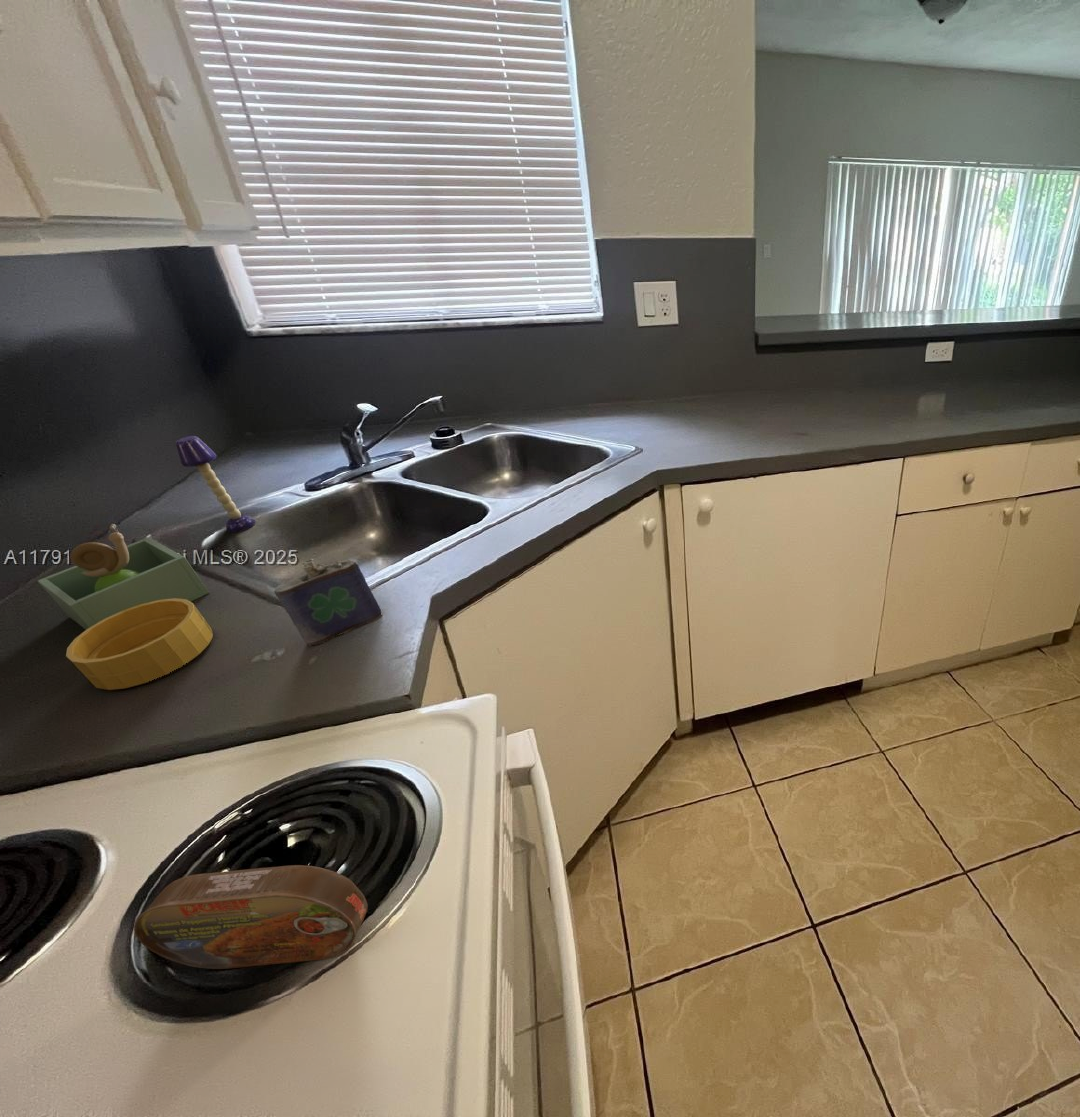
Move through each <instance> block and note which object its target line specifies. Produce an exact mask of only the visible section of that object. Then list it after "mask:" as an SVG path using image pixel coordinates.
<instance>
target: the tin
mask: <svg viewBox="0 0 1080 1117" xmlns="http://www.w3.org/2000/svg"><path fill="white" fill-rule="evenodd" d="M368 908H369V906H368V902H367V898H366V897H365V895H364V894H363V892H362V891H361V890H360V888H359V887H357V886H356V884H355V883H354V882H353V881H352V880H351V879H350V878H349V877H347V876H345V875H342V874H341V873H339V872H336V871H333V870H331V869H327V868H323V867H319V866H313V865H301V864H294V865H293V864H292V865H281V866H280V865H279V866H270V867H259V868H258V867H257V868H247V869H237V870H229V871H228V870H227V871H218V872H216V871H215V872H208V873H197V874H191V875H186V876H182V877H179V878H178V879H176V880H173V881H172V882H171V883H169V884H168V885H167V886H165V887H164V888H163V889H162V890H161V892H160V893H159V894H158V895H157V896H156V897H155V899H153V901H152V902H151V904H150V905H149V906H148V907H147V908H146V910H144V911H143V912H142V913H141V914H139V915H138V916H137V918H136V919H135V921H134V924H133V931H134V934H135V937H136V938H137V939H138V940H139V941H140V943H141V944H142V946H144V947H146V948H147V949H148V950H149V951H151V952H153V953H154V954H156V955H158V956H160V957H162V958H164V959H167V960H169V961H172V962H175V963H178V964H181V965H185V966H189V967H193V968H199V969H207V970H208V969H209V970H226V969H229V970H230V969H238V968H239V969H240V968H249V967H257V966H259V967H260V966H270V965H277V964H279V965H280V964H290V963H291V964H292V963H301V962H311V961H320V960H321V961H322V960H327V959H332V958H334V957H337V956H340V955H341V954H343V953H345V952H346V951H348V950H349V949H350V948H351V947H352V946H353V944H354V943H355V941H356V937H357V934H358V932H359V929H360V927H361V925H362V924H363V921H364V919H365V917H366V914H367V912H368Z"/></svg>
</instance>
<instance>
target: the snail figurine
mask: <svg viewBox="0 0 1080 1117" xmlns="http://www.w3.org/2000/svg"><path fill="white" fill-rule="evenodd" d="M109 529H110V530H112V531H114V532H111V533H110V534H109V535H108V540H109V541H110V542H111V543H113V545H114V546H113V547H112V546H111V545H108V544H105V543H102V542H94V541H92V542H84V543H81V544H79V545H77V546H75V547H74V548H72V550H71V551H70V555H69V556H70V560H71V562H72V564H74V566H78V567H79V568H82V569H86V570H90V571H85V572H83V573H82V574H83V575H86V576H90V577H100V578H99V579H98V580H97V582H96V584H95V587H94V591H95V592H97V591H100V590H102V589H104V588H107V587H109V586H112V585H114V584H116V583H119V582H121V581H123V580H126V579H128V578H130V577H133V576H135V575H138V574H140V573H138V572H135V571H132V570H126V569H123V568H124V567H125V566H126V565H127V564H128V562H129V552H128V549H127V544H126V542H125V538H124V535H123V534H122V533H120V532H119V531H118V529H117V525H116V524H115V523H111V524H110V525H109ZM115 550H116V551H115Z"/></svg>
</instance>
